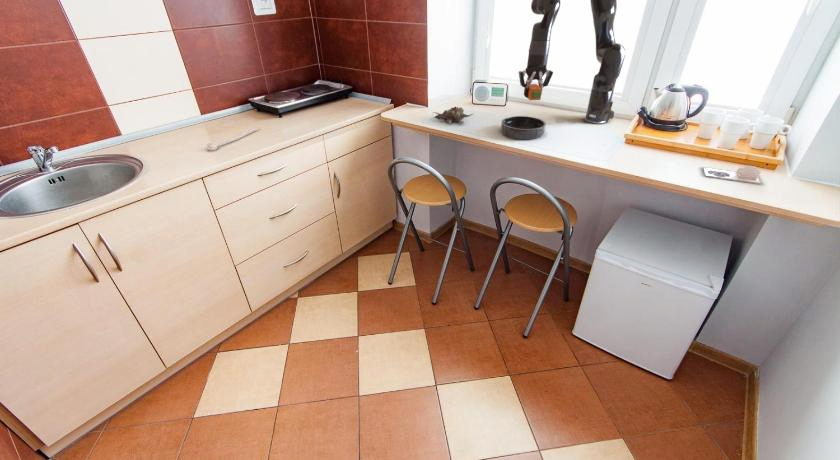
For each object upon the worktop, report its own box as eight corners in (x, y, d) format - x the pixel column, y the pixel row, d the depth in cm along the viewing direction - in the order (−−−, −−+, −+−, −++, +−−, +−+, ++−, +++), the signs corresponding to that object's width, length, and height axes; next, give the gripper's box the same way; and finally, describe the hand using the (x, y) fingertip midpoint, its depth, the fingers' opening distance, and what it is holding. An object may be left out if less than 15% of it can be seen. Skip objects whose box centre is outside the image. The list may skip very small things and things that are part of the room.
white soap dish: (755, 176, 129) (761, 163, 127) (760, 184, 124) (766, 171, 122) (703, 168, 135) (708, 156, 133) (705, 176, 130) (710, 164, 128)
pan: (536, 125, 178) (538, 115, 175) (550, 139, 162) (551, 128, 160) (496, 126, 177) (497, 116, 175) (506, 141, 162) (507, 130, 159)
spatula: (253, 129, 182) (251, 123, 181) (260, 130, 181) (258, 124, 179) (205, 150, 161) (203, 143, 159) (212, 151, 159) (210, 144, 158)
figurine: (430, 113, 178) (433, 104, 192) (431, 126, 181) (433, 116, 196) (474, 111, 176) (473, 101, 190) (474, 124, 179) (473, 113, 193)
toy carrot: (522, 93, 167) (523, 82, 165) (532, 93, 167) (534, 82, 165) (530, 101, 157) (532, 89, 154) (541, 101, 157) (543, 89, 154)
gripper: (523, 54, 148) (517, 99, 158) (559, 53, 149) (552, 99, 158) (518, 51, 155) (513, 95, 164) (553, 50, 155) (546, 94, 165)
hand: (532, 96), depth 161 cm, fingers closed on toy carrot, 4 cm apart
